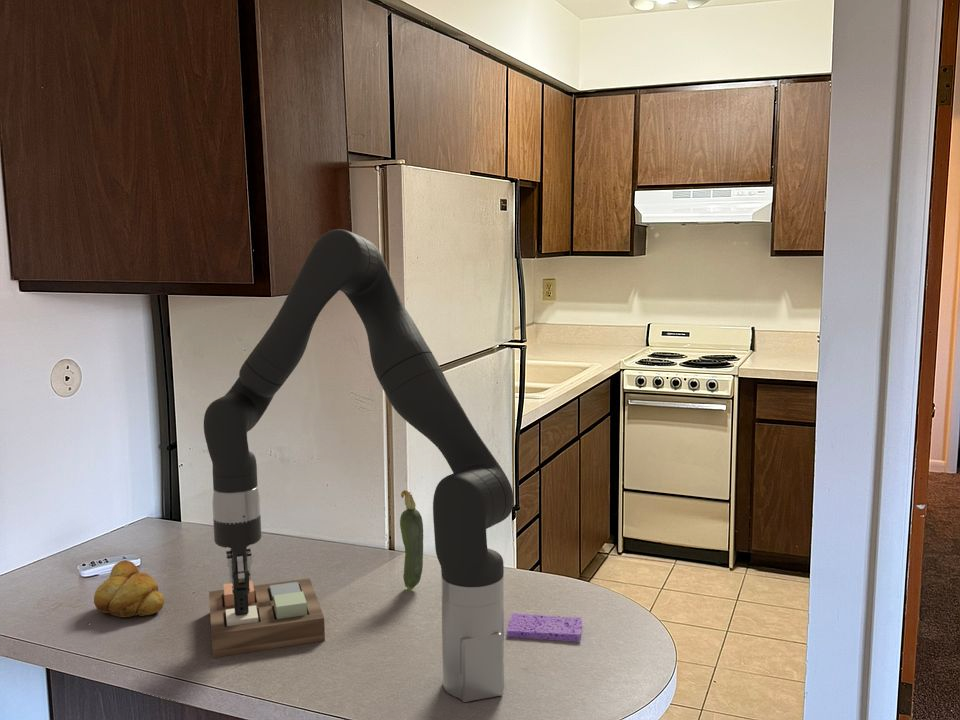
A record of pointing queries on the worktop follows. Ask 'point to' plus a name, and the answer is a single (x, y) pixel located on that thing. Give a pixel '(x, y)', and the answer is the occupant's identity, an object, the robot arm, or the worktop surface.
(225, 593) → the key terracotta
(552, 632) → the sponges
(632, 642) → the worktop surface
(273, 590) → the key slate
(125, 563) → the bread roll
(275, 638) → the keypad
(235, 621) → the key cream
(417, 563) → the vegetable
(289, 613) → the key sage
